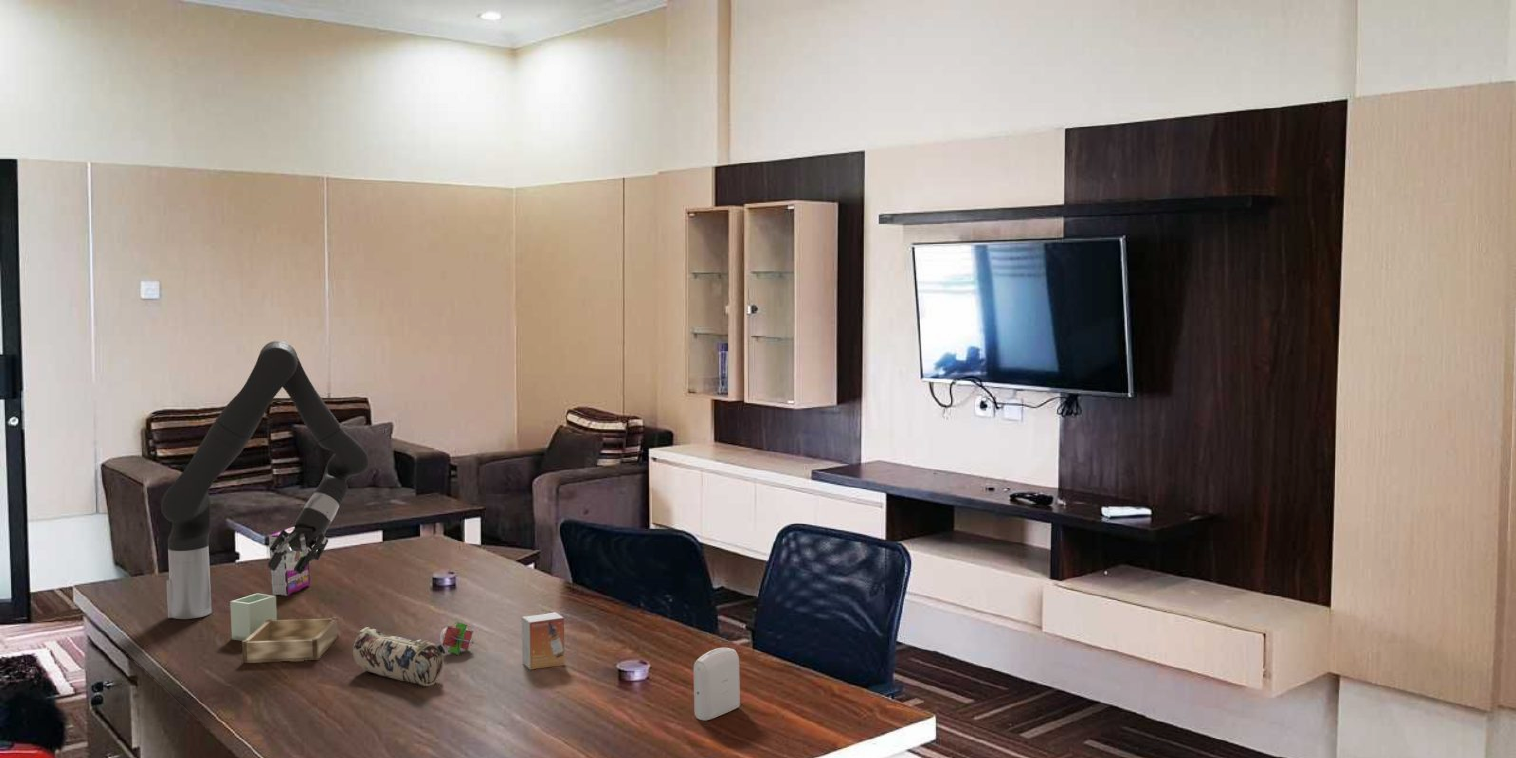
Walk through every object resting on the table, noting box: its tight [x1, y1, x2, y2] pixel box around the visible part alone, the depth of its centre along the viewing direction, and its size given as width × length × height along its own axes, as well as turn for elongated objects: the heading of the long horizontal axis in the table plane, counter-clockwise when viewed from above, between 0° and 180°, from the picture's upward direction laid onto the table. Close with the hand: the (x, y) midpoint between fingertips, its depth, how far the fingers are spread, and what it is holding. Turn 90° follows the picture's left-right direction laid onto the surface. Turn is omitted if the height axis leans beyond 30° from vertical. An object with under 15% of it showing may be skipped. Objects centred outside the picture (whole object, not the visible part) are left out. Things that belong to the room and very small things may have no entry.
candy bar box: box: [268, 526, 311, 597], centre depth 334 cm, size 11×5×16 cm, turn 168°
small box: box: [521, 611, 566, 670], centre depth 269 cm, size 8×6×10 cm
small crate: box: [229, 592, 278, 642], centre depth 292 cm, size 6×8×9 cm
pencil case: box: [352, 626, 446, 687], centre depth 262 cm, size 22×8×10 cm, turn 55°
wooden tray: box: [241, 616, 339, 664], centre depth 281 cm, size 16×18×5 cm
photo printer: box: [693, 647, 741, 722], centre depth 238 cm, size 10×4×12 cm, turn 140°
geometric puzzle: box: [439, 621, 474, 656], centre depth 278 cm, size 7×7×8 cm
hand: (283, 570), depth 300 cm, fingers open, 8 cm apart
